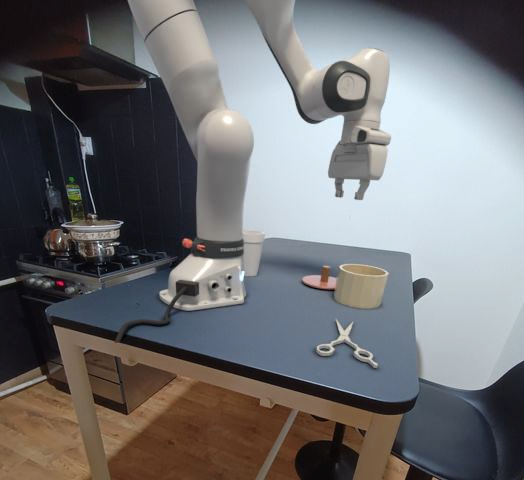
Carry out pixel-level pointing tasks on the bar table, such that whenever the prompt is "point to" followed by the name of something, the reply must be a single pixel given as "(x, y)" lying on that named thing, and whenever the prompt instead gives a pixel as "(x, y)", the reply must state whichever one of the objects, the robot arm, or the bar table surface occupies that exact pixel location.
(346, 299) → the pot
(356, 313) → the bar table surface
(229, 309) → the bar table surface
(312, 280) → the lid
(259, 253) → the foam cup
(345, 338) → the scissors
